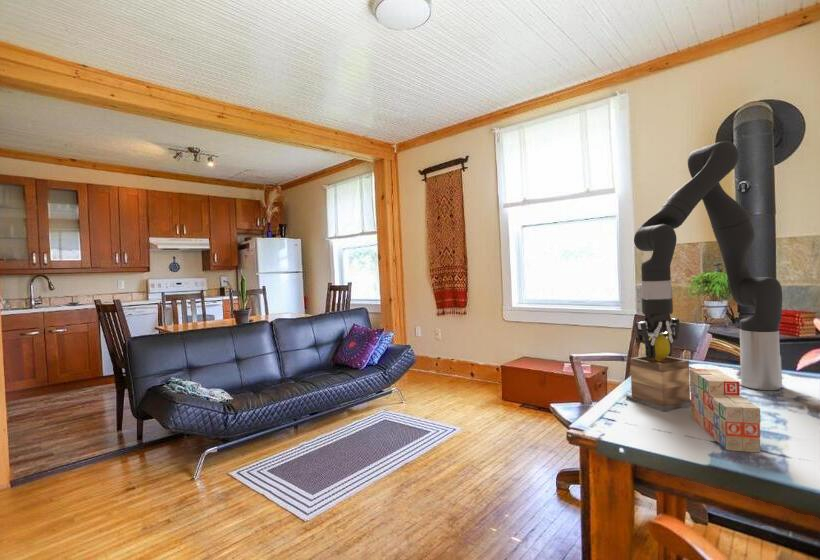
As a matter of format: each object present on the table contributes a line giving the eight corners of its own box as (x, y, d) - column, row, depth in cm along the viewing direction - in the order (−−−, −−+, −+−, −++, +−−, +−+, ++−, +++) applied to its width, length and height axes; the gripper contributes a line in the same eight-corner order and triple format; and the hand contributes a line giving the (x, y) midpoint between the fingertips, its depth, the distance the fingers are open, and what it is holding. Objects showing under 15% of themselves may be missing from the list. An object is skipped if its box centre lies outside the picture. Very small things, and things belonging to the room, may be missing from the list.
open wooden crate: (657, 393, 125) (656, 353, 125) (696, 404, 114) (695, 360, 114) (626, 399, 121) (624, 357, 121) (663, 411, 110) (661, 366, 110)
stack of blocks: (762, 453, 84) (760, 393, 84) (725, 451, 86) (723, 392, 86) (719, 417, 105) (717, 368, 105) (690, 415, 107) (688, 367, 107)
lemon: (674, 363, 114) (673, 334, 114) (651, 363, 115) (650, 334, 115) (666, 359, 120) (665, 331, 119) (644, 359, 121) (643, 331, 121)
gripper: (663, 294, 123) (665, 351, 123) (625, 298, 118) (628, 357, 119) (688, 295, 116) (690, 356, 116) (648, 299, 111) (651, 362, 112)
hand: (658, 356), depth 117 cm, fingers closed on lemon, 5 cm apart
